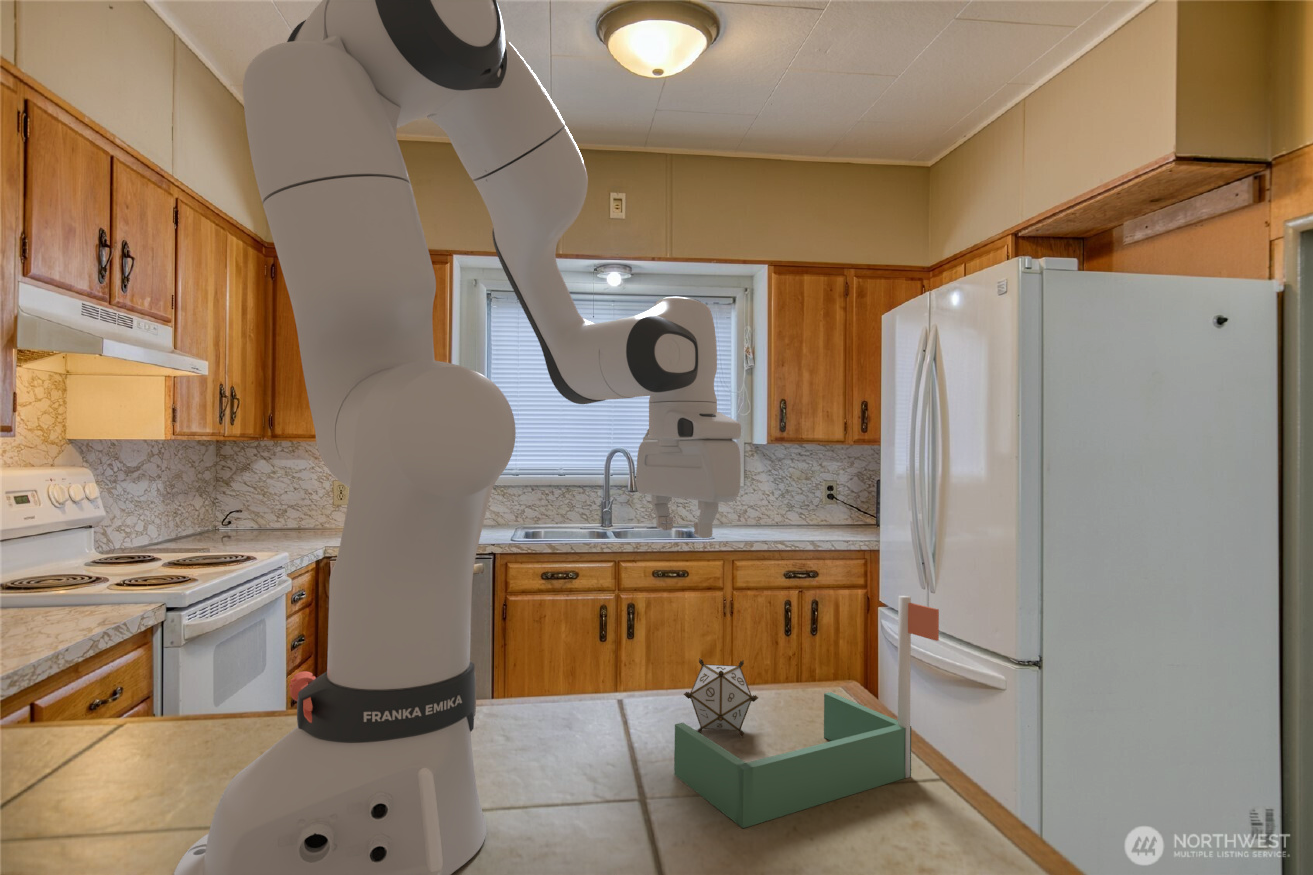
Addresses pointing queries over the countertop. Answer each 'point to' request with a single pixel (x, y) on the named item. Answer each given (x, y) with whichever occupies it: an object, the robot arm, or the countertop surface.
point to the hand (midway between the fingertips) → (683, 533)
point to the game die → (721, 697)
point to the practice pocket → (813, 749)
